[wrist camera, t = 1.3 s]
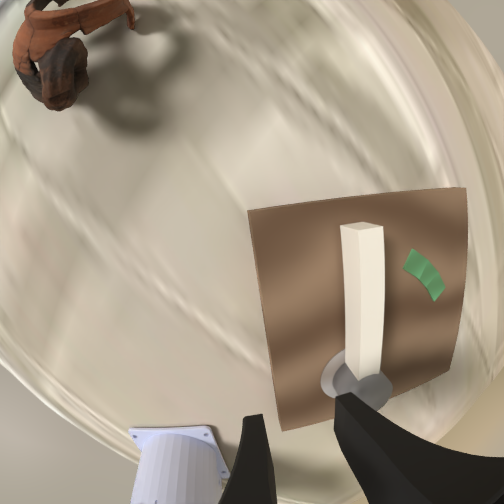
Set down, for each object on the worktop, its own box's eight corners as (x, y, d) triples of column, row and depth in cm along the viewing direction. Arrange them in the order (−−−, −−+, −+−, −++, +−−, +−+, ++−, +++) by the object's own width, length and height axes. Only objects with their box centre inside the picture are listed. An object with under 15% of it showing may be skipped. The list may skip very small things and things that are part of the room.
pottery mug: (25, 62, 13) (19, -9, 6) (119, 37, 17) (135, -34, 10) (22, 163, 12) (-15, 77, 5) (146, 121, 17) (169, 27, 10)
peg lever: (372, 385, 19) (389, 407, 16) (332, 398, 19) (345, 423, 16) (376, 219, 16) (403, 225, 13) (324, 227, 16) (346, 234, 13)
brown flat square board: (441, 363, 22) (450, 371, 21) (278, 420, 21) (282, 433, 19) (454, 187, 18) (467, 187, 17) (247, 210, 17) (249, 212, 16)
